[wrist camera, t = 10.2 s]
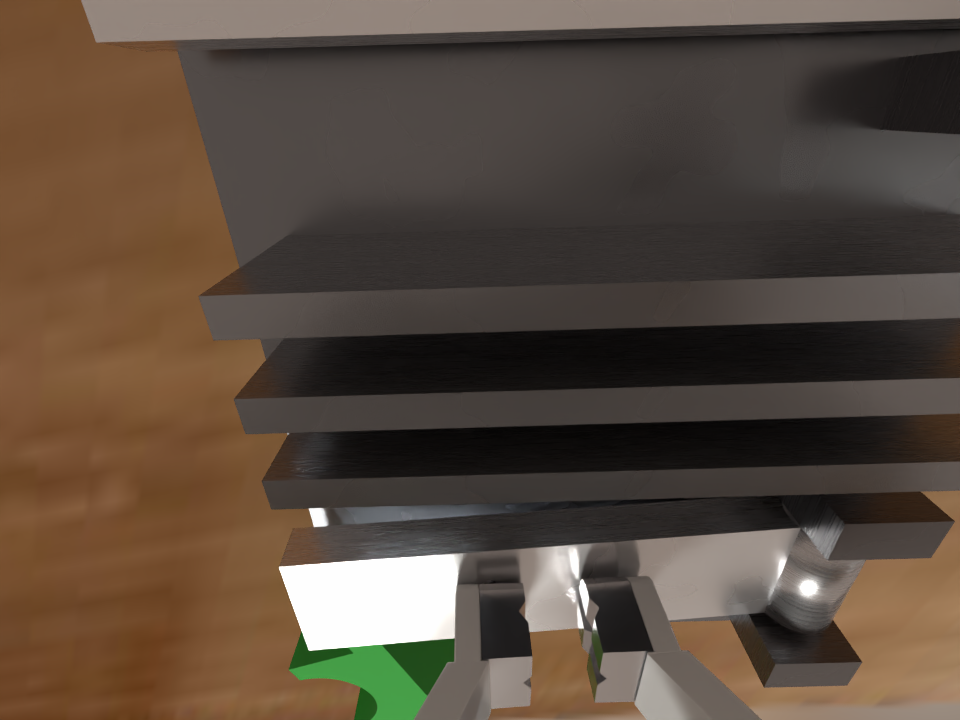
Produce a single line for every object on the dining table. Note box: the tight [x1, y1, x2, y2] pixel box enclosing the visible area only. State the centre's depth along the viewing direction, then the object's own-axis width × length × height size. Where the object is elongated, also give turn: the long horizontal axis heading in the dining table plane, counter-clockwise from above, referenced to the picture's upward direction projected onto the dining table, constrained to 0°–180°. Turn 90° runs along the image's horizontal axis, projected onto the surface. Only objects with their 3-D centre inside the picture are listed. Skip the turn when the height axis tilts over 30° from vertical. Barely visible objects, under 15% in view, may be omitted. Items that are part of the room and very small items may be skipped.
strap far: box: [279, 495, 866, 650], centre depth 11 cm, size 13×3×2 cm, turn 92°
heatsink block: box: [178, 28, 960, 688], centre depth 10 cm, size 14×20×8 cm
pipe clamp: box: [289, 631, 455, 720], centre depth 19 cm, size 11×4×5 cm, turn 22°
